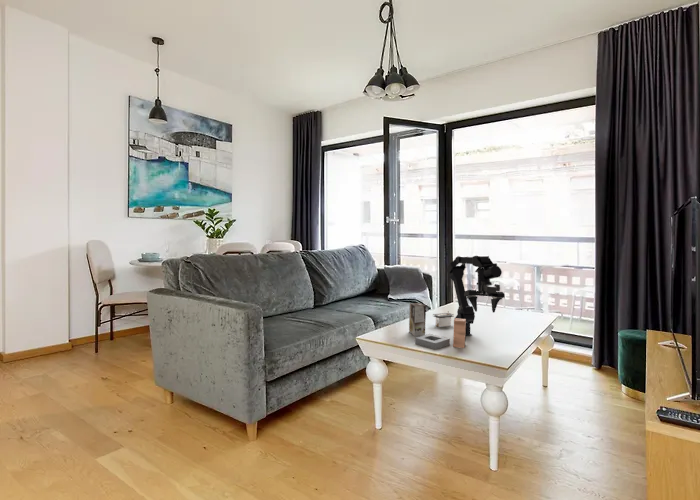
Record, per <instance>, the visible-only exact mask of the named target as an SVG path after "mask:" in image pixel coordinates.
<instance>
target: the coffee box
mask: <svg viewBox="0 0 700 500" xmlns="http://www.w3.org/2000/svg"><path fill="white" fill-rule="evenodd" d="M426 311H427V305H425V304H423V303H421V302H413V303H411V302H410V303H409V314H408V315H409V316H408V317H409V320H408V322H409V323H408V327H409V328H408V332H409V333H410V334H412V336H414V337H420V336H423V335H426V314H427V312H426Z"/></svg>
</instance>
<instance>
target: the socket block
mask: <svg viewBox="0 0 700 500" xmlns="http://www.w3.org/2000/svg"><path fill="white" fill-rule="evenodd" d="M450 343H451V338H449V337H444V336H440V335H437V334H434V333H427V334H425V335H423V336H415V338H414V344H415V345H418V346H421V347H426V348H429V349H433V350H438V349H441V348H444V347H446V346H449V345H451V344H450Z"/></svg>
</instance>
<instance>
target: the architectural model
mask: <svg viewBox="0 0 700 500" xmlns="http://www.w3.org/2000/svg"><path fill="white" fill-rule="evenodd" d="M432 316H433V317H434V318H435V327H439V328H440V327H441V328H442V327H451V325H452V319H451V318H453V317H454V318H455V316H454V313H450V312H444V313H433V314H432Z"/></svg>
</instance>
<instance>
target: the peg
mask: <svg viewBox="0 0 700 500" xmlns="http://www.w3.org/2000/svg"><path fill="white" fill-rule="evenodd" d="M454 319H455V320H454ZM454 319H453V336H452V337H453V341H452V343H453V345H452V346H453V348H459V349H465V346H466V336H465V332H466V319H459V318H455V317H454Z"/></svg>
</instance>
